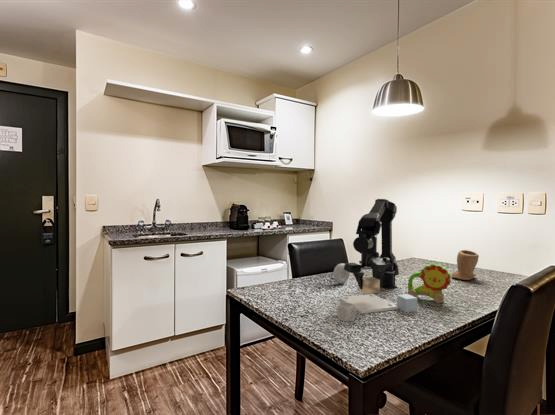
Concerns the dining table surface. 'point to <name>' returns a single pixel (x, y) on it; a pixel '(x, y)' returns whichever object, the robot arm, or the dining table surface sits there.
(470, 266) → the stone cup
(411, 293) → the toy lion
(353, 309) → the die
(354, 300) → the building plate
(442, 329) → the dining table surface
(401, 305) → the slate brick
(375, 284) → the maple brick
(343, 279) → the donut
